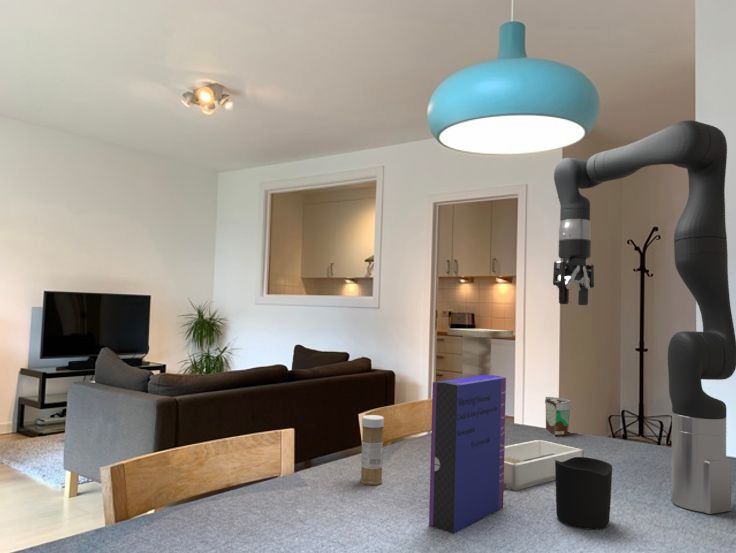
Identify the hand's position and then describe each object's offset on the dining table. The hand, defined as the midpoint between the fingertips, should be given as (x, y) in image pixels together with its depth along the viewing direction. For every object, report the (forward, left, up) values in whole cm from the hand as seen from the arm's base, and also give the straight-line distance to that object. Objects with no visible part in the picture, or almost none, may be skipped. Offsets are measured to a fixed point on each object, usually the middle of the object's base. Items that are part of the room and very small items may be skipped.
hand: (573, 304), depth 148 cm
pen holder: (-33, +28, -38) cm, 58 cm away
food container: (+26, -20, -38) cm, 50 cm away
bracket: (-11, +35, -38) cm, 53 cm away
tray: (-6, +18, -38) cm, 43 cm away
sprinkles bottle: (-1, +54, -38) cm, 66 cm away
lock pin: (-6, +16, -37) cm, 41 cm away
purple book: (-24, +46, -38) cm, 65 cm away
